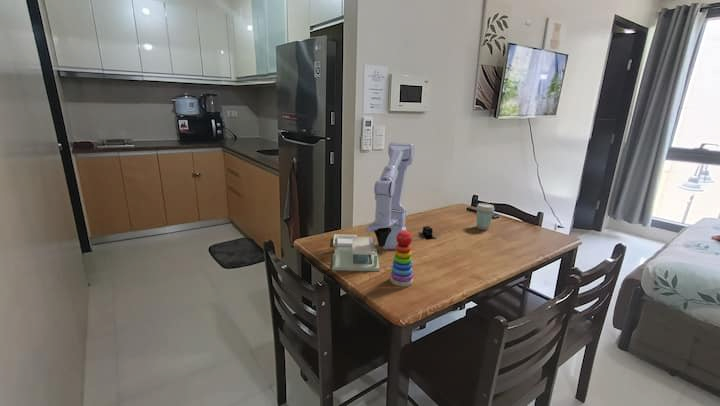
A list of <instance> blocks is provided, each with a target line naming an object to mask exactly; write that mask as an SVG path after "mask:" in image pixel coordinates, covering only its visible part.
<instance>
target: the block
mask: <svg viewBox="0 0 720 406" xmlns="http://www.w3.org/2000/svg"><path fill="white" fill-rule="evenodd" d="M357 262H368V255H366V254H357Z"/></svg>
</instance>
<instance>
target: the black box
mask: <svg viewBox="0 0 720 406" xmlns="http://www.w3.org/2000/svg"><path fill="white" fill-rule="evenodd" d="M417 234H419V235H420V236H421V237H422V238H424V239H425V240H436V239H437V237H435V236H434V235H433V228H432V227H431V226H429V225H427V226H426V225H425V226H422V231H420V232H417Z"/></svg>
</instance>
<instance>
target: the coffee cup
mask: <svg viewBox="0 0 720 406" xmlns="http://www.w3.org/2000/svg"><path fill="white" fill-rule="evenodd" d="M494 212H495V206H494V204H490V203H486V202H481V203H478V204H477V206H476V228H477V229H479V230H482V231H487V230H489V229H490V226H491V223H492V222H491V221H492V219H493V215H494Z"/></svg>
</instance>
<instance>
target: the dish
mask: <svg viewBox="0 0 720 406" xmlns="http://www.w3.org/2000/svg"><path fill="white" fill-rule="evenodd" d="M352 237H358V235H357V234H333V242H332V247H334V248H335V238H338V239H337V247H352Z"/></svg>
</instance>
